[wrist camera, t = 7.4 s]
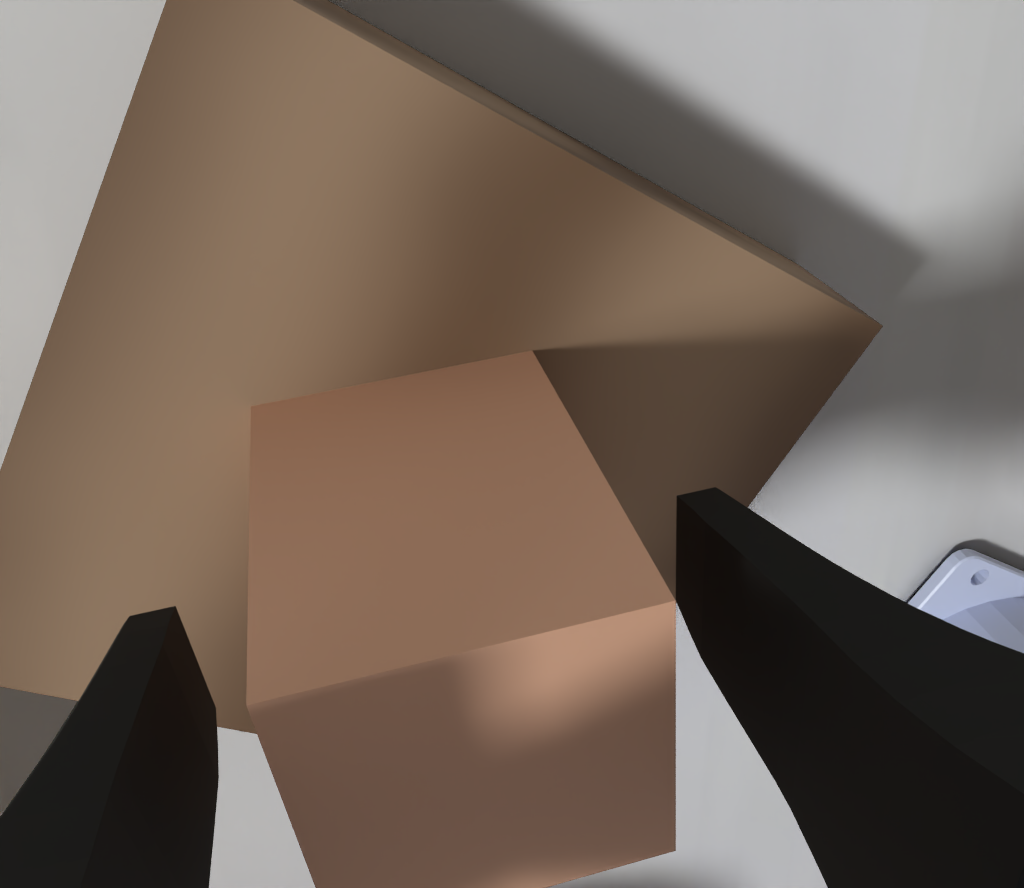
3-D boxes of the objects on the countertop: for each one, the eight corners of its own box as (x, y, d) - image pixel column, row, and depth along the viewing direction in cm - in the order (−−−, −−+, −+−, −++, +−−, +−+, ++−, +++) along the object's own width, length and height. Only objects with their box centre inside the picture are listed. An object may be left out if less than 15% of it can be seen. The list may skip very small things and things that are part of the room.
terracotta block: (532, 350, 14) (675, 600, 9) (552, 562, 17) (676, 850, 12) (250, 406, 14) (246, 705, 9) (313, 618, 16) (338, 947, 11)
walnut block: (797, 264, 18) (882, 325, 16) (508, 685, 23) (539, 785, 20) (201, -71, 13) (186, -59, 11) (-25, 559, 17) (-72, 673, 15)
